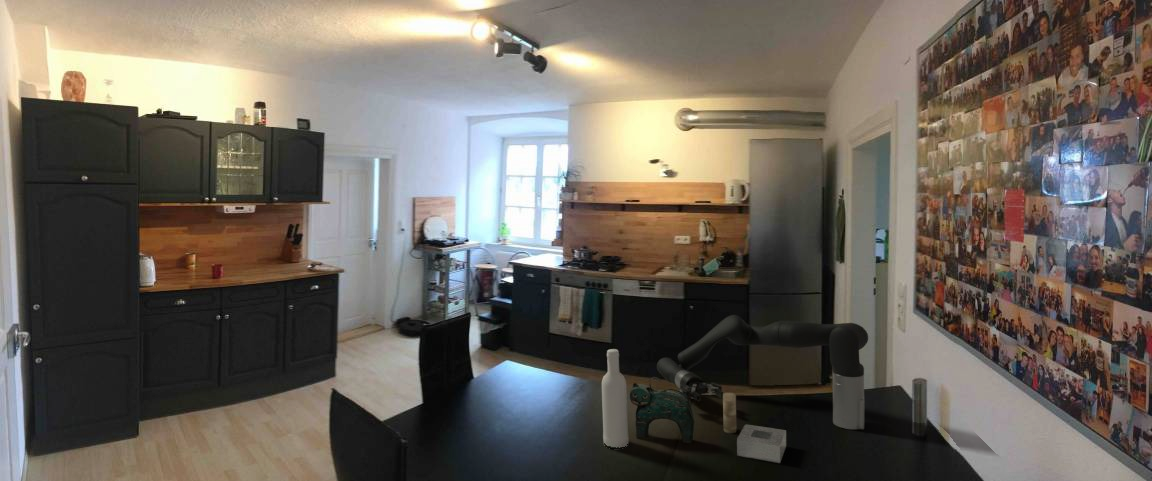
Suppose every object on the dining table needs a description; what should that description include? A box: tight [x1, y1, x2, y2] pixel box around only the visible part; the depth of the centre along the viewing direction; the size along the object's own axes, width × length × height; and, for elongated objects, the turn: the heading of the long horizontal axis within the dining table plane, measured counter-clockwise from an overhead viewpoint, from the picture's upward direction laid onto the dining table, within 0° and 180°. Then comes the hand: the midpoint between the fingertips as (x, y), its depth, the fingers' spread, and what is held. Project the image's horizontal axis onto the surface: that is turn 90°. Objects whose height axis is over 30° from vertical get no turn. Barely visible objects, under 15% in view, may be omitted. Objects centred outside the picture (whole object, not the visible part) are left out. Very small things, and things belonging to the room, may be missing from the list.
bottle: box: [601, 348, 629, 448], centre depth 175 cm, size 8×8×30 cm
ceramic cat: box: [629, 376, 695, 444], centre depth 178 cm, size 20×6×20 cm, turn 70°
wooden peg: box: [722, 392, 737, 434], centre depth 182 cm, size 4×4×12 cm
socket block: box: [736, 424, 787, 464], centre depth 167 cm, size 12×12×5 cm
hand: (711, 396), depth 193 cm, fingers open, 8 cm apart
